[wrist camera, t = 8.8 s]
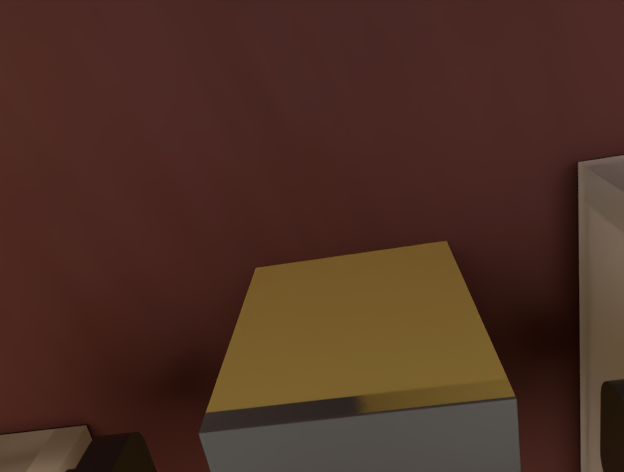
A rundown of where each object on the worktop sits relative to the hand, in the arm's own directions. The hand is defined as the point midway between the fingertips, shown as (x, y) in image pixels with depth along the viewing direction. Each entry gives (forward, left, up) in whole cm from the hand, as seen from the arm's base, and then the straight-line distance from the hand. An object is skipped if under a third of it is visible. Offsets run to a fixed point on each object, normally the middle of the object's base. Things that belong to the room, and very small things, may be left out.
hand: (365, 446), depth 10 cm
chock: (0, 0, -3) cm, 3 cm away
